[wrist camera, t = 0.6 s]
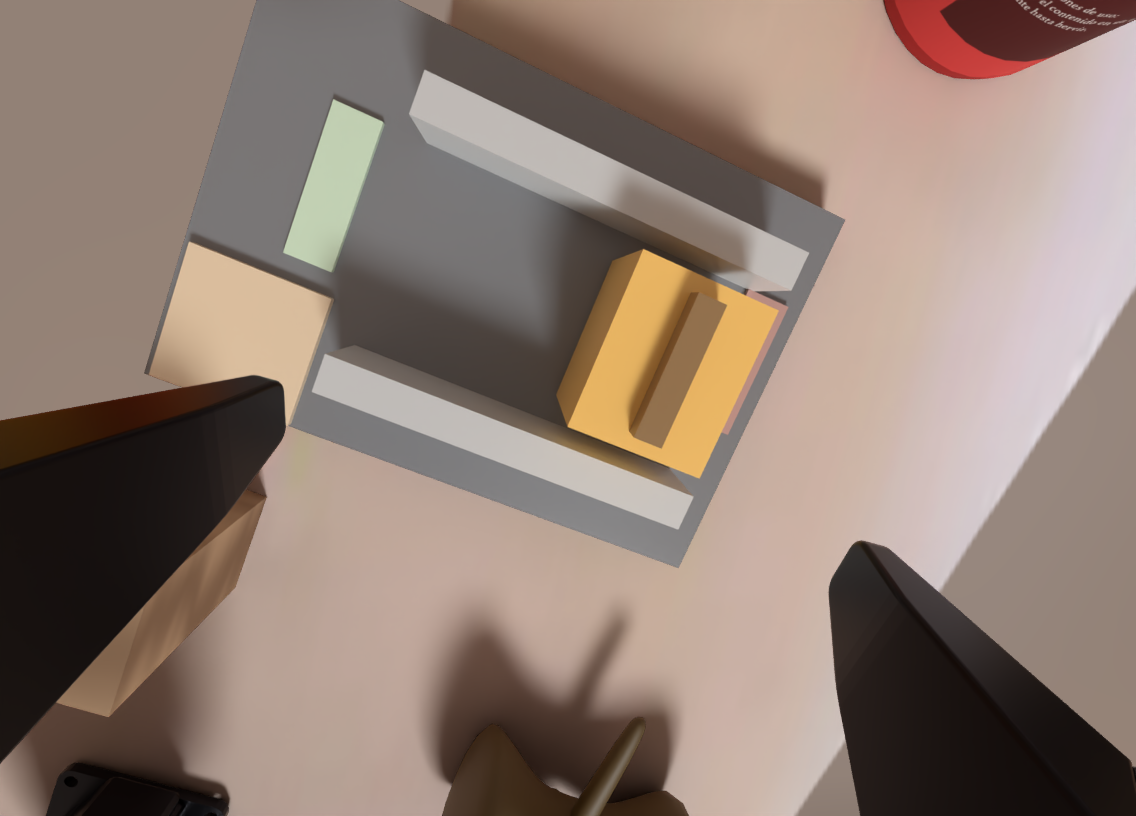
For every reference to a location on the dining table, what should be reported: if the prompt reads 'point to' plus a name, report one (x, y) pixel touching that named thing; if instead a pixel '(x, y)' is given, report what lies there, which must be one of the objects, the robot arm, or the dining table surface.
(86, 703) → the walnut block
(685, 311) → the knob
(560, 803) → the kendama
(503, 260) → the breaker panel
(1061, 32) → the canned food
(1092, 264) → the dining table surface
